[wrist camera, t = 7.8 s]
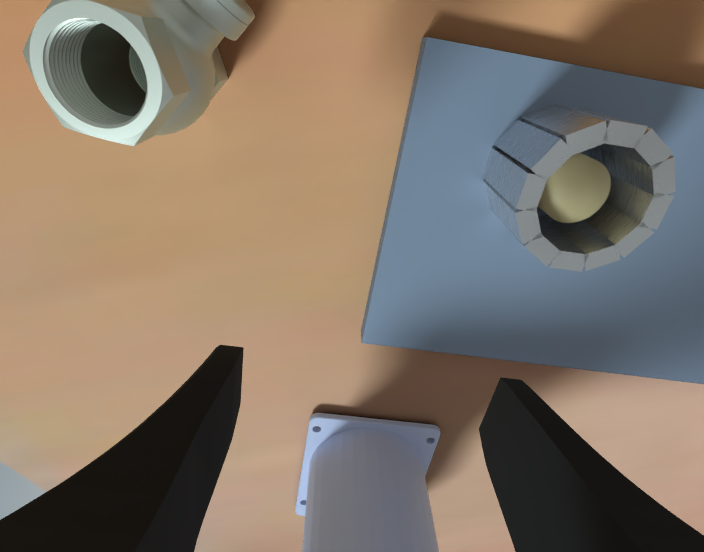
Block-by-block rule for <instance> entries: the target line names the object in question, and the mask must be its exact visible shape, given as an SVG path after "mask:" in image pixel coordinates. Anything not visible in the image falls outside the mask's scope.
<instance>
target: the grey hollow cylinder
mask: <svg viewBox="0 0 704 552" xmlns="http://www.w3.org/2000/svg"><path fill="white" fill-rule="evenodd" d="M520 120H521V121H520ZM520 120H517V119H516V120H515V121H514V122H513V124H512V125H511V126H510V127H509V128H508V129H507V130H506V131H505V132H504V133H503V134H502V135H501V137H500V138H499V139H498V140H497V141H496V142H495V143H494V145H495V146H496V147H497V148H498V149H497V148H491V151H490V154H489V158H488V161H487V164H486V168H485V171H484V174H483V178H484V179H485V180H483V185H484V189H485V193H486V197H487V201H488V205H489V207H490V208H491V210H492V211H493V212H494V214H495V215H496V216H497V217H498V218H499V219H500V220H501V221H502V223H503V224H504V225H505V226H506V227H507V228H508V229H509V230H510V232H511V233H512V234H513V235H514V236H515V237H516V238H517V239H518V241H519V242H520V243H521V244H522V245H523V246H524V247H525V248H526V249H527V250H528V251H530V252H531V253H532V254H533V255H534V256H535V257H537V258H538V259H539V260H540V261H541V262H542V263H543V264H545V265H546V266H547V265H548V266H549V267H550V268H558V269H565V270H573V271H580V272H582V270H583V269H584V270H585V271H588V270H591V269H594V268H597V267H600V266H603V265H606V264H610V263H613V262H616V261H619V260H620V255H621V256H622V257H624V258H625V257H626V256H627V255H628V254H629V253H631V252H632V251H633V250H634V249H635V248H637V247H638V246H639V245H640V244H641V243H643V242H644V241H645V240H646V239H647V238H649V237H650V236H651V235H652V234H653V233H654V232H653V231H652V230H651V229H658V227H659V225H660V223H661V221H662V219H663V217H664V215H665V213H666V211H667V209H668V207H669V205H670V204H671V202H672V200H673V198H674V195H672V194H670V193H673V192H675V191H676V185H675V157H674V156H671V155H672V154H673V152H672V151H671V150H670V149H669V148H668V146H667V145H666V144H665V143H664V142H663V141H662V140H661V138H660V137H659V136H658V135H657V134H656V133H655V132H654V130H653V129H652V128H649V127H648V126H645V125H642V124H638V123H634V122H631V121H627V120H623V119H619V118H616V117H612V116H608V115H605V114H601V113H597V112H594V111H590V110H586V109H581V108H575V107H569V106H563V105H557V104H555V106H554V105H549V106H546V107H544V108H541V109H539V110H536V111H534V112H531V113H528V114H526V115H523V116H521V117H520ZM588 149H591V150H592V158H593V159H595V160H597V161H599V162H600V163H602V164H603V165H604V166H605V167H606V168H607V170H608V172H609V174H610V179H611V186H610V191H609V194H608V197H607V199H606V201H605V202H604V204H603V205H602V206H601V208H600V209H599V210H598V211H597V212H595V213H594V214H593V215H591V216H590V217H588V218H586V219H584V220H582V221H579V222H574V223H562V222H559V221H556V220H554V219H553V218H551V217H550V216H549V215H548V214H545V215H542V216H541V215H538V214H537V206H538V204H539V201H540V198H541V195H542V193H543V190H544V187H545V185H546V182H547V180H548V179H549V178H550V177H551V176H552V175H553V174H554V173H555V172H556V171H557V170H558V169H559V168H560V167H561V166H562V165H563V164H564V163H565V162H566V161H567V160H568V159H569V158H570V157H571V156H572V155H574V154H577V153H580V152H583V151H585V150H588ZM650 228H651V229H650Z"/></svg>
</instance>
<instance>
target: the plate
mask: <svg viewBox="0 0 704 552" xmlns="http://www.w3.org/2000/svg"><path fill="white" fill-rule="evenodd" d="M555 104H557V105H563V106H569V107H575V108H581V109H586V110H590V111H594V112H597V113H601V114H605V115H608V116H612V117H616V118H619V119H623V120H627V121H631V122H634V123H638V124H642V125H645V126H648V127H649V128H652V129H653V130H654V132H655V133H656V134H657V135H658V136H659V137H660V138H661V140H662V141H663V142H664V143H665V144H666V145H667V146H668V148H669V149H670V150H671V151H672V152H673V154H672V155H671V156H674V157H675V185H676V191H675V192H673V193H670V194H672V195H674V198H673V200H672V202H671V204H670V205H669V207H668V209H667V211H666V213H665V215H664V217H663V219H662V221H661V223H660V225H659V227H658V229H651V228H650V229H651V230H652V231H653V232H654V233H653V234H652V235H651V236H650V237H649V238H647V239H646V240H645V241H644V242H643V243H641V244H640V245H639V246H638V247H637V248H635V249H634V250H633V251H632V252H631V253H629V254H628V255H627V256H626V257H625V258H624V257H622V256H621V255H620V260H619V261H616V262H613V263H610V264H606V265H603V266H600V267H597V268H594V269H591V270H588V271H585V270H584V269H583V270H582V272H580V271H573V270H565V269H558V268H550V267H549V266H548V265H547V266H546V265H545V264H543V263H542V262H541V261H540V260H539V259H538V258H537V257H535V256H534V255H533V254H532V253H531V252H530V251H528V250H527V249H526V248H525V247H524V246H523V245H522V244H521V243H520V242H519V241H518V239H517V238H516V237H515V236H514V235H513V234H512V233H511V232H510V230H509V229H508V228H507V227H506V226H505V225H504V224H503V223H502V221H501V220H500V219H499V218H498V217H497V216H496V215H495V214H494V212H493V211H492V210H491V208H490V207H489V205H488V201H487V197H486V193H485V189H484V185H483V180H485V179H484V178H483V174H484V171H485V168H486V164H487V161H488V158H489V154H490V151H491V148H497V147H496V146H495V145H494V143H495V142H496V141H497V140H498V139H499V138H500V137H501V135H502V134H503V133H504V132H505V131H506V130H507V129H508V128H509V127H510V126H511V125H512V124H513V122H514V121H515V120H516V119H517V120H520V117H521V116H523V115H526V114H528V113H531V112H534V111H536V110H539V109H541V108H544V107H546V106H549V105H554V106H555ZM520 121H521V120H520ZM497 149H498V148H497ZM610 186H611V179H610V174H609V172H608V170H607V168H606V167H605V166H604V165H603V164H602V163H600V162H599V161H597V160H595V159H593V158H592V150H591V149H588V150H585V151H583V152H580V153H577V154H574V155H572V156H571V157H570V158H569V159H568V160H567V161H566V162H565V163H564V164H563V165H562V166H561V167H560V168H559V169H558V170H557V171H556V172H555V173H554V174H553V175H552V176H551V177H550V178H549V179H548V180H547V182H546V185H545V187H544V190H543V193H542V195H541V198H540V201H539V204H538V206H537V214H538V215H541V216H542V215H545V214H548V215H549V216H550V217H551V218H553V219H554V220H556V221H559V222H562V223H574V222H579V221H582V220H584V219H586V218H588V217H590V216H591V215H593V214H594V213H595V212H597V211H598V210H599V209H600V208H601V206H602V205H603V204H604V202H605V201H606V199H607V197H608V194H609V191H610ZM361 339H362V343H367V344H375V345H384V346H392V347H400V348H409V349H417V350H425V351H433V352H442V353H450V354H458V355H467V356H475V357H483V358H491V359H500V360H508V361H516V362H525V363H533V364H541V365H550V366H558V367H566V368H574V369H583V370H591V371H599V372H608V373H616V374H624V375H632V376H641V377H649V378H657V379H666V380H674V381H682V382H690V383H699V384H704V89H700V88H695V87H690V86H684V85H679V84H674V83H668V82H663V81H658V80H652V79H647V78H642V77H637V76H631V75H626V74H621V73H615V72H610V71H605V70H600V69H594V68H589V67H584V66H578V65H573V64H568V63H562V62H557V61H552V60H547V59H541V58H536V57H531V56H525V55H520V54H515V53H510V52H504V51H499V50H494V49H488V48H483V47H478V46H472V45H467V44H462V43H457V42H451V41H446V40H441V39H435V38H430V37H423V38H422V43H421V48H420V53H419V57H418V62H417V67H416V72H415V76H414V81H413V86H412V91H411V96H410V100H409V105H408V110H407V115H406V119H405V124H404V129H403V134H402V138H401V143H400V148H399V153H398V158H397V162H396V167H395V172H394V177H393V181H392V186H391V191H390V196H389V200H388V205H387V210H386V215H385V220H384V224H383V229H382V234H381V239H380V243H379V248H378V253H377V258H376V262H375V267H374V272H373V277H372V282H371V286H370V291H369V296H368V301H367V305H366V310H365V315H364V320H363V324H362V329H361Z"/></svg>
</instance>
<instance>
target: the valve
mask: <svg viewBox="0 0 704 552" xmlns="http://www.w3.org/2000/svg"><path fill="white" fill-rule="evenodd" d="M254 18H255V15H254V13H253V11H252V10H251V8H250V7H249V5H248V4H247V3H246V2H245V0H52V1H51V2H50V4H49V5H48V6H47V8H46V9H45V11H44V12H43V14H42V15H41V17H40V18H39V20H38V21H37V23H36V25H35V26H34V28H33V30H32V32H31V34H30V36H29V38H28V40H27V42H26V44H25V47H24V49H23V54H24V57H25V59H26V62H27V64H28V67H29V69H30V71H31V73H32V75H33V77H34V79H35V81H36V83H37V85H38V88H39V90H40V91H41V93H42V95H43V96H44V98H45V100H46V102H47V103H48V105H49V107H50V108H51V110H52V111H53V113H54V114H55V116H56V117H57V119H58V120H59V121H60V123H61V124H62V126H63V127H66V128H68V129H71V130H74V131H77V132H80V133H83V134H87V135H90V136H93V137H97V138H101V139H105V140H109V141H113V142H117V143H122V144H126V145H131V146H135V145H137V144H139V143H141V142H143V141H145V140H147V139H149V138H151V137H153V136H155V135H166V134H171V133H175V132H178V131H180V130H183V129H185V128H187V127H188V126H190V125H191V124H193V123H194V122H195V121H196V120H197V119H198V118H199V117H200V116H201V115H202V114H203V113H204V111H205V110H206V108H207V107H208V105H209V103H210V100H211V99H212V98H213V97H214V96H215V94H216V93H217V92H218V91H219V90H220V88H221V87H222V86H223V85H224V84H225V82H226V81H227V80H228V76H227V73H226V70H225V67H224V64H223V61H222V58H221V55H220V53H219V50H218V47H217V46H218V44H219V43H220V42H221V41H222V39H223V38H224V37H226V38H228V39H230V40H233V41H236V40H237V39H238V38H239V37H240V36H241V34H242V33H243V32H244V31H245V29H246V28H247V27H248V26H249V25H250V23H251V22H252V21H253V20H254Z"/></svg>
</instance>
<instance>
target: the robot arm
mask: <svg viewBox="0 0 704 552" xmlns="http://www.w3.org/2000/svg"><path fill="white" fill-rule="evenodd" d="M242 364H243V347H234V346H226V345H219V346H218V347H216V348H215V350H214V351H213V352H212V353H211V355H210V356H209V357H208V358H207V359H206V360H205V361H204V363H203V364H202V365H201V366H200V367H199V368H198V369H197V370H196V371H195V373H194V374H193V375H192V376H191V377H190V378H189V379H188V380H187V381H186V382H185V383H184V384H183V385H182V386H181V387H180V388H179V389H178V390H177V391H176V392H175V393H174V394H173V395H172V396H171V397H170V398H169V399H168V400H167V401H166V402H165V403H164V404H163V405H161V406H160V407H159V408H158V409H157V410H156V411H155V412H154V413H153V414H152V415H150V416H149V417H148V418H147V419H146V420H145V421H144V422H143V423H141V424H140V425H139V426H138V427H137V428H135V429H134V430H133V431H132V432H131V433H129V434H128V435H127V436H126V437H125V438H123V439H122V440H121V441H119V442H118V443H117V444H116V445H114V446H113V447H112V448H110V449H109V450H108V451H106V452H105V453H104V454H102V455H101V456H100V457H98V458H97V459H95V460H94V461H92V462H91V463H90V464H88V465H87V466H85V467H84V468H83V469H81V470H80V471H78V472H77V473H75V474H74V475H73V476H71V477H70V478H68V479H67V480H65V481H64V482H62V483H60V484H59V485H57V486H56V487H54V488H53V489H51V490H49V491H48V492H46V493H44V494H43V495H41V496H40V497H38V498H36V499H34V500H33V501H31V502H30V503H28V504H26V505H25V506H23V507H21V508H20V509H18V510H17V511H15V512H13V513H11V514H10V515H8V516H6V517H5V518H3V519H1V520H0V552H194V549H195V545H196V541H197V538H198V535H199V532H200V528H201V525H202V522H203V519H204V516H205V514H206V511H207V508H208V505H209V502H210V500H211V497H212V494H213V491H214V488H215V486H216V483H217V480H218V477H219V474H220V472H221V469H222V466H223V463H224V460H225V458H226V455H227V452H228V449H229V446H230V443H231V441H232V437H233V433H234V429H235V425H236V420H237V416H238V412H239V407H240V401H241V382H242ZM315 426H319V427H315ZM479 432H480V437H481V442H482V448H483V452H484V457H485V462H486V465H487V469H488V472H489V475H490V478H491V481H492V484H493V487H494V490H495V493H496V496H497V498H498V501H499V504H500V507H501V510H502V513H503V516H504V519H505V522H506V524H507V527H508V530H509V533H510V536H511V539H512V542H513V545H514V548H515V551H516V552H704V535H702V534H701V533H699V532H698V531H696V530H695V529H694V528H692V527H691V526H689V525H688V524H686V523H685V522H683V521H682V520H681V519H679V518H678V517H676V516H675V515H674V514H672V513H671V512H670V511H668V510H667V509H666V508H664V507H663V506H662V505H660V504H659V503H658V502H656V501H655V500H654V499H653V498H651V497H650V496H649V495H648V494H646V493H645V492H644V491H642V490H641V489H640V488H639V487H637V486H636V485H635V484H634V483H632V482H631V481H630V480H629V479H627V478H626V477H625V476H624V475H623V474H621V473H620V472H619V471H618V470H617V469H616V468H615V467H613V466H612V465H611V464H610V463H609V462H608V461H607V460H605V459H604V458H603V457H602V456H601V455H600V454H599V453H598V452H596V451H595V450H594V449H593V448H592V447H591V446H590V445H589V444H588V443H587V442H586V441H585V440H583V439H582V438H581V437H580V436H579V435H578V434H577V433H576V432H575V431H574V430H573V429H572V428H571V427H570V426H569V425H568V424H567V423H566V422H565V421H564V420H563V419H562V418H561V417H560V416H559V415H558V414H556V413H555V412H554V411H553V410H552V409H551V408H550V407H549V406H548V405H547V404H546V403H545V402H544V401H543V400H542V399H541V398H540V397H539V396H538V395H537V394H536V393H535V392H534V391H533V390H532V389H531V388H530V387H529V386H528V385H526V384H525V383H524V382H523V381H522V380H517V379H508V378H500V380H499V383H498V385H497V387H496V390H495V392H494V395H493V397H492V399H491V402H490V404H489V406H488V409H487V411H486V414H485V416H484V418H483V421H482V423H481V425H480V428H479ZM439 437H440V429H439V427H438V426H436V425H431V424H421V423H412V422H402V421H393V420H383V419H374V418H364V417H355V416H345V415H335V414H326V413H314V414H312V415H311V416H310V420H309V426H308V432H307V438H306V445H305V451H304V457H303V463H302V470H301V476H300V482H299V488H298V495H297V501H296V508H295V512H296V513H297V514H298V515H300V516H305V523H304V535H303V548H302V552H439V549H438V544H437V539H436V533H435V528H434V523H433V517H432V512H431V507H430V501H429V496H428V491H427V485H426V480H425V476H426V473H427V470H428V468H429V465H430V462H431V459H432V457H433V454H434V451H435V448H436V446H437V443H438V440H439ZM428 438H430V439H428Z"/></svg>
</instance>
